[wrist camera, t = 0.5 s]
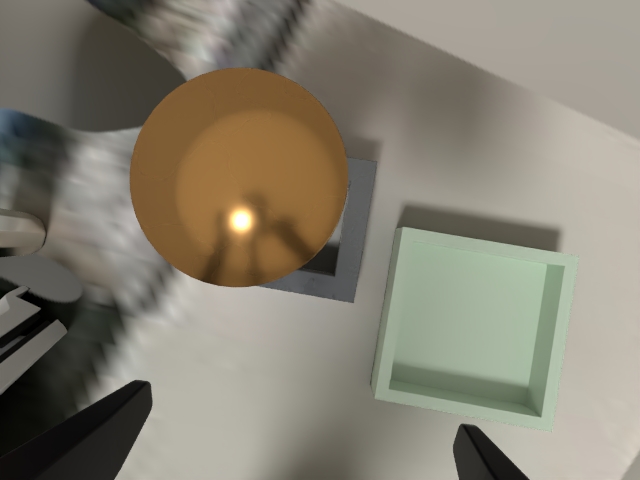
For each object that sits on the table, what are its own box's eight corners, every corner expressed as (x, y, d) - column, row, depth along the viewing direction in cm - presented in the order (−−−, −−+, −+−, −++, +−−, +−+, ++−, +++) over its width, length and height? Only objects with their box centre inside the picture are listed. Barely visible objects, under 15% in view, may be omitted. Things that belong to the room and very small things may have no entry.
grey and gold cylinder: (329, 266, 22) (328, 304, 7) (256, 253, 23) (111, 266, 8) (341, 192, 23) (365, 84, 8) (269, 180, 23) (150, 53, 8)
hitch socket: (350, 296, 22) (353, 303, 20) (226, 274, 23) (213, 278, 20) (372, 171, 22) (377, 161, 20) (248, 151, 23) (238, 139, 20)
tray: (529, 413, 22) (552, 432, 19) (370, 383, 22) (374, 398, 20) (554, 255, 22) (579, 255, 20) (395, 228, 22) (403, 226, 20)
